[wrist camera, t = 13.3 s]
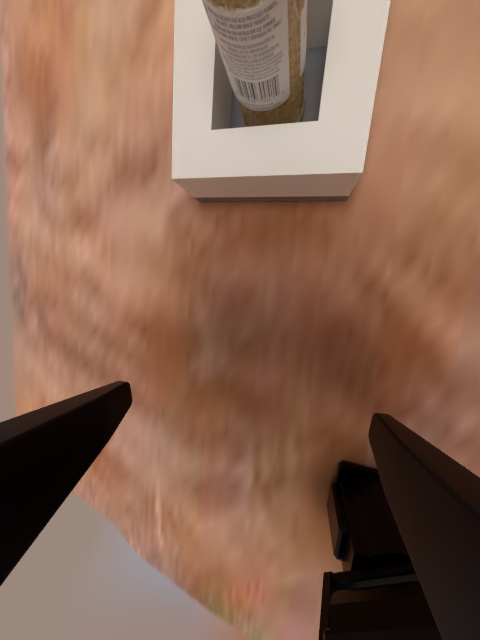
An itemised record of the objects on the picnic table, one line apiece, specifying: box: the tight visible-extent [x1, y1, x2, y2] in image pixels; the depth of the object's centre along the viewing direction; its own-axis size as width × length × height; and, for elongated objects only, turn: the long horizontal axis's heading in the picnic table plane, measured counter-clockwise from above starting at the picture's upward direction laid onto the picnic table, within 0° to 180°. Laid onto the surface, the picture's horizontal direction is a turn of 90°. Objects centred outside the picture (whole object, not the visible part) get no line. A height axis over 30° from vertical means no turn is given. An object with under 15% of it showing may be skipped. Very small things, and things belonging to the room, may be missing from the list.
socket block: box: [172, 0, 391, 202], centre depth 15 cm, size 12×12×4 cm
